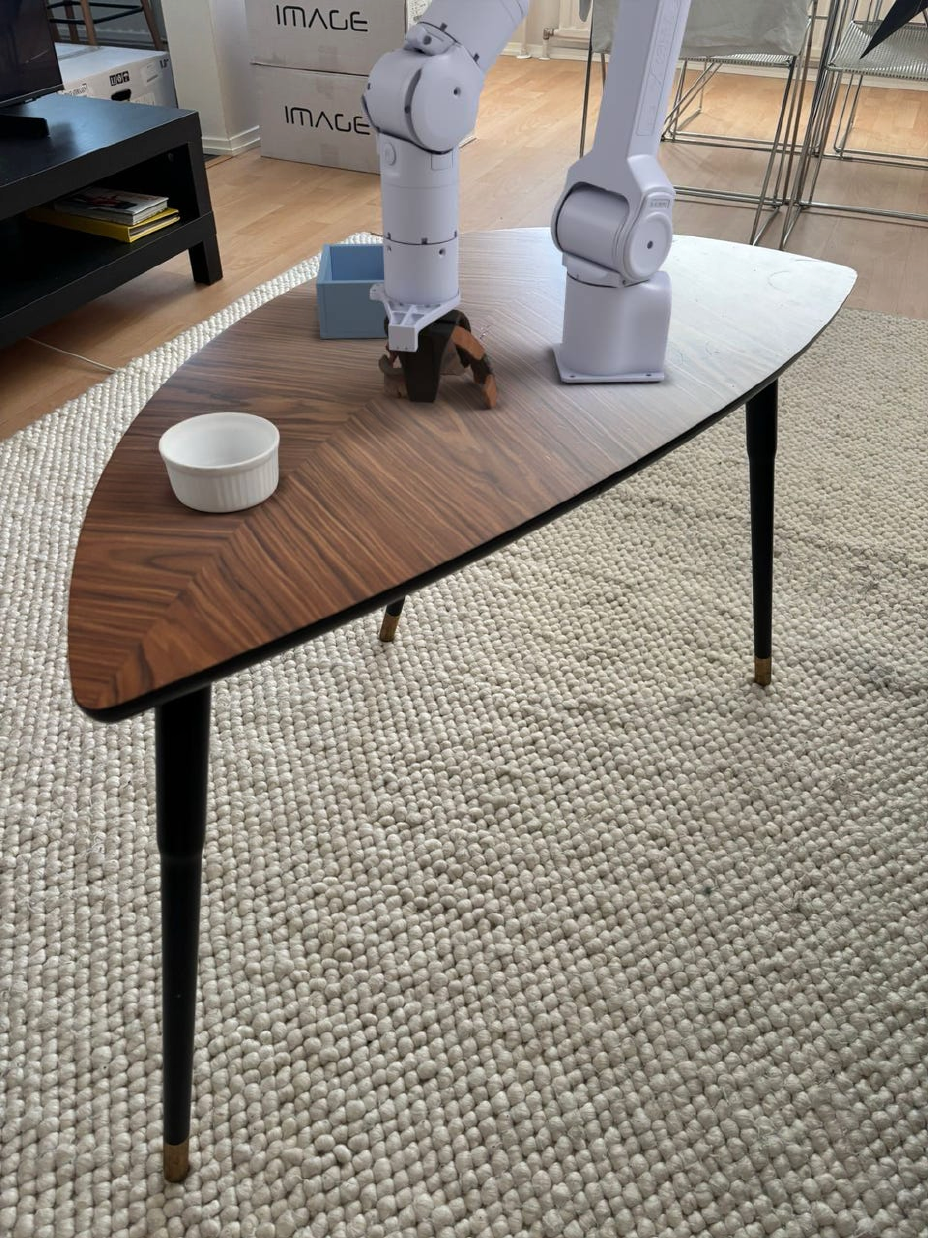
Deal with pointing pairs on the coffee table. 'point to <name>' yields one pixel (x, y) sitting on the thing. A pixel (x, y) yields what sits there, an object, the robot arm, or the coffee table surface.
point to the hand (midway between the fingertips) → (422, 399)
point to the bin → (350, 291)
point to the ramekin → (222, 460)
